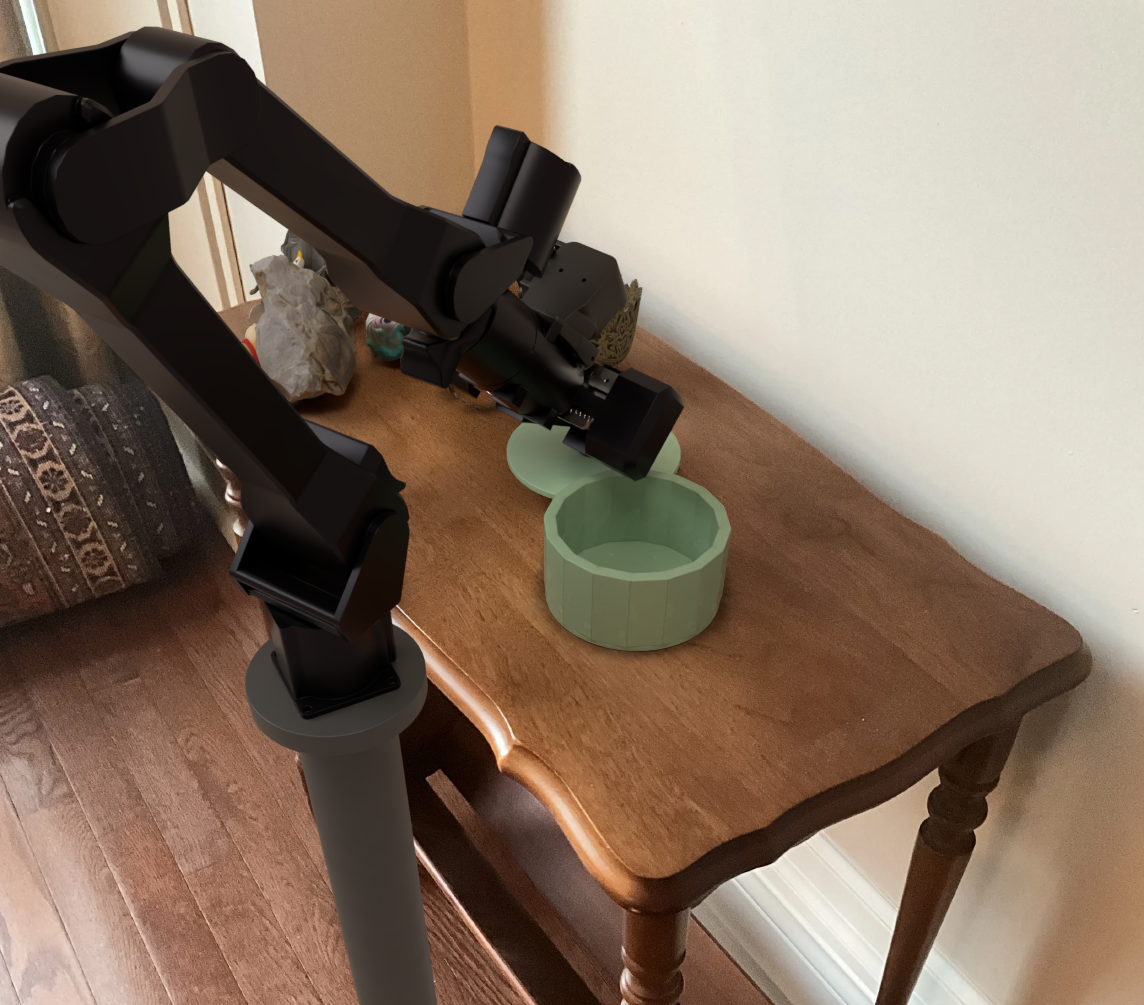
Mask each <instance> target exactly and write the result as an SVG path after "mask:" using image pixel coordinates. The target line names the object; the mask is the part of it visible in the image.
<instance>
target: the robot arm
mask: <svg viewBox="0 0 1144 1005" xmlns="http://www.w3.org/2000/svg"><path fill="white" fill-rule="evenodd" d="M206 173H208V174H209V175H210V176H212V177H213V178H215V179H216V180H218V181H219V182H220V183H222V184H223V185H225V186H226V187H228V188H229V189H230V190H232V191H233V192H235V193H236V194H237V195H239V196H240V197H242V198H243V199H244V200H245V201H247V202H248V203H250V204H251V205H253V206H254V207H256V208H257V209H259V211H261V212H263V213H264V214H265V215H266V216H268V217H269V218H271V219H272V220H274V221H275V222H276V223H278V224H279V225H281V226H283V227H284V228H285V229H287V231H288V230H289V231H291V232H292V233H294V234H295V235H297V236H298V237H299V238H301V239H302V240H304V241H305V242H306V243H308V244H309V245H311V246H312V247H313V248H314V249H315V250H316V251H317V252H318V253H319V254H320V256H321V257H322V258H323V259H324V261H325V267H326V272H327V274H328V277H329V278H330V280H331V281H332V282H333V283H334V284H335V285H336V286H337V287H338V288H339V289H340V290H341V292H342V293H343V294H344V295H345V296H346V297H347V298H348V299H349V300H350V301H351V303H352V304H353V305H354V306H355V307H357V308H358V309H359V310H361V312H365V313H368V314H369V313H370V314H373V315H376V316H379V317H382V318H385V319H388V320H391V321H394V322H396V323H399V324H402V325H405V326H408V327H411V332H410V333H409V334H408V335H407V336H404V337H403V338H402V345H403V353H402V355H401V358H399V360H400V372H401V374H402V375H403V376H404V377H407V378H410V379H412V380H416V381H418V382H422V383H425V384H427V385H431V386H434V387H437V388H440V389H443V390H446V389H449V386H450V388H452V387H453V388H454V389H455V390H456V391H459V392H461V393H463V394H465V395H467V396H469V397H470V398H473V399H474V400H477V399H478V398H479V396H480V394H481V392H482V391H484V392H486V393H487V394H488V395H489V396H492V397H491V401H493V402H494V403H496V405H495V407H496V409H497V410H498V411H499V412H500V413H504V414H505V415H507V416H508V417H511V418H513V419H515V420H517V421H518V422H520V423H532V424H538V425H540V426H542V427H544V428H546V429H548V430H550V431H551V429H552V427H553V425H555V426H565V427H570V429H569V430H568V432H567V434H566V436H565V438H564V440H563V442H562V443H563V444H565V445H567V446H569V447H571V448H573V449H575V450H577V451H579V452H581V453H583V454H585V455H586V456H589V457H591V458H593V459H594V460H596V461H598V462H600V463H601V464H603V465H605V466H606V467H608V468H610V469H612V470H614V471H616V472H618V473H620V474H622V475H624V476H626V477H628V478H630V479H632V480H634V481H637V480H640V479H642V478H645V477H646V476H647V474H648V472H649V471H650V469H651V467H652V465H653V463H654V461H655V460H656V458H657V456H658V454H659V452H660V451H661V449H662V447H663V445H664V443H665V441H666V440H667V438H668V436H669V434H670V432H672V430H673V429H674V427H675V425H676V423H677V422H678V420H679V418H680V417H681V414H682V412H683V410H684V409H685V404H684V399H683V395H681V394H680V393H679V392H678V391H677V390H676V389H675V388H674V387H673V386H672V385H670V384H668V383H666V382H664V381H661V380H659V379H658V378H655V377H653V376H651V375H648V374H646V373H644V372H642V371H640V370H638V369H636V368H634V367H629V368H627V369H626V370H624V371H622V370H620V369H618V368H616V367H615V368H614V367H612V366H609V365H607V364H605V363H604V365H603V367H602V366H600V365H597V364H593V362H594V360H595V358H596V357H597V355H598V353H599V350H598V349H597V348H596V347H595V346H594V345H593V344H592V343H591V342H589V341H590V340H592V339H594V338H595V337H596V336H597V335H598V334H599V333H600V332H601V331H602V330H603V329H604V327H605V326H606V325H607V324H608V323H609V321H610V320H611V319H612V318H613V317H614V316H615V314H616V313H617V312H618V311H621V310H622V309H623V308H624V307H625V305H626V304H627V302H628V295H627V292H626V289H625V286H624V284H625V282H624V279H623V275H622V273H621V270H620V267H619V264H618V263H619V262H618V260H617V258H616V257H614V256H613V255H610V254H608V253H606V252H603V251H601V250H598V249H596V248H594V247H591V246H589V245H586V244H584V243H581V242H578V241H569V242H564V241H562V240H560V239H559V236H560V235H561V232H562V229H563V227H564V224H565V222H566V219H567V218H568V215H569V212H570V210H571V208H572V205H573V202H574V199H575V197H576V196H577V192H578V190H579V188H580V185H581V182H582V174H581V173H580V170H579V169H578V168H577V167H576V165H575V164H574V163H572V162H569V161H566V160H564V159H563V158H561V157H560V156H559V155H557V153H554V152H553V151H551V150H549V149H548V148H547V147H544V146H542V145H540V144H538V143H536V142H535V141H533V140H531V139H530V138H529V137H528V135H527V134H526V133H525V131H522V130H519V129H515V128H510V127H507V126H503V125H499V124H496V125H494V126H493V128H492V131H491V133H490V136H489V139H488V140H487V144H486V146H485V151H484V155H483V159H482V162H481V165H480V167H479V169H478V172H477V174H476V177H475V180H474V182H473V184H472V187H471V189H470V193H469V195H468V196H467V197H468V198H467V200H466V202H465V205H464V208H463V210H462V213H461V215H458V214H456V213H452V212H450V211H445V210H443V209H439V208H435V207H432V206H428V205H425V204H421V205H415V204H412V203H410V202H407V201H406V200H403V199H401V198H399V197H396V196H395V195H392V193H390V192H389V191H388V190H386V189H385V188H384V187H383V186H382V185H381V184H380V183H378V182H377V181H376V180H375V179H374V178H372V177H371V176H370V175H369V174H368V173H367V172H366V171H364V170H363V169H362V168H361V167H360V166H359V165H358V164H357V163H356V162H354V161H353V160H352V159H351V158H350V157H348V156H347V155H346V154H345V153H344V152H343V151H342V150H341V149H339V148H338V147H337V146H336V145H335V144H334V143H333V142H331V140H329V139H328V138H327V137H326V136H324V134H322V133H321V132H320V131H319V130H317V129H316V128H315V127H314V125H312V124H310V122H308V121H307V119H305V118H304V117H303V116H301V114H299V113H298V111H296V110H295V109H293V107H291V106H290V105H289V104H287V103H286V102H285V101H284V100H283V99H282V98H281V97H279V96H278V95H277V94H276V93H275V92H274V91H273V90H272V89H271V88H269V87H268V86H267V84H265V83H264V82H262V81H261V80H260V79H259V78H258V77H257V74H256V73H255V70H254V69H253V68H252V67H251V65H250V64H249V62H247V60H246V59H245V58H243V57H242V56H240V55H239V53H238V52H237V51H236V50H235V49H234V48H233V47H230V46H228V45H227V44H225V43H223V42H221V41H217V40H213V39H209V38H205V37H201V36H197V35H193V34H189V33H184V32H181V31H178V30H172V29H168V28H165V27H161V26H149V25H148V26H147V25H146V26H142V27H140V28H138V29H137V30H132V31H131V30H130V31H127V32H125V33H123V34H120V35H117V36H115V37H113V38H110V39H108V40H105V41H103V42H100V43H96V44H92V45H85V46H80V47H73V48H68V49H62V50H56V51H51V52H43V53H37V54H32V55H26V56H19V57H15V58H11V59H6V60H2V61H0V267H2V268H4V269H5V270H7V271H9V272H10V273H12V274H14V275H16V276H18V277H19V278H20V279H23V280H24V281H26V282H27V283H29V284H31V285H33V286H34V287H36V288H38V289H39V290H41V291H43V292H45V293H46V294H48V295H50V296H51V297H53V298H55V299H57V300H58V301H60V302H62V303H63V304H64V305H66V306H68V307H69V308H70V309H71V310H73V311H74V312H75V313H76V314H77V315H78V316H79V317H80V318H81V319H82V320H83V321H84V323H86V324H87V325H88V326H89V327H90V328H91V329H92V330H93V331H94V332H95V334H97V336H99V337H100V339H102V341H103V342H105V344H107V345H108V347H109V348H110V349H111V350H112V351H113V352H114V353H115V354H116V355H117V356H118V357H119V358H120V359H121V360H122V361H123V362H124V363H125V364H126V365H127V366H128V367H129V368H130V369H131V370H132V371H133V372H134V373H135V374H136V375H137V376H138V377H139V378H140V379H141V380H142V382H143V383H145V385H147V386H148V387H149V388H150V389H151V391H153V393H155V395H156V396H157V397H158V398H159V399H160V400H161V401H162V402H163V403H164V404H165V405H166V406H167V407H168V408H169V409H170V410H171V411H172V412H173V413H174V414H175V415H176V416H177V417H178V418H179V419H180V420H181V421H182V422H183V423H184V424H185V425H186V426H187V428H189V430H191V431H192V433H194V435H195V436H196V437H197V438H199V439H200V440H201V441H202V442H203V444H204V445H205V446H207V448H208V449H209V450H210V451H211V452H212V453H213V454H214V455H215V456H217V458H218V459H219V460H220V461H221V462H222V463H223V464H224V465H225V466H226V467H227V468H228V469H229V470H230V471H231V472H232V473H233V474H234V475H235V476H236V478H237V479H238V481H239V482H240V501H239V502H240V505H241V509H242V510H243V512H244V513H245V515H246V516H247V517H248V520H247V522H246V526H245V529H244V530H243V534H242V536H241V539H240V541H239V544H238V546H237V549H236V552H235V553H234V556H233V559H232V562H231V564H230V567H229V570H228V576H229V578H230V579H231V580H232V581H233V583H234V584H235V586H236V587H237V588H238V589H239V591H240V592H241V593H243V594H245V595H247V596H253V597H255V598H257V599H259V600H261V601H263V605H264V610H265V613H266V618H267V622H268V626H269V630H270V635H271V638H272V639H273V643H274V648H275V650H274V651H273V652H272V653H271V659H272V662H273V664H274V666H275V668H276V670H277V672H278V674H279V676H280V678H281V680H282V682H283V684H284V686H285V687H286V689H287V691H288V693H289V695H290V697H291V699H292V701H293V703H294V705H295V707H296V709H297V711H298V713H299V715H300V717H301V718H303V719H306V720H309V719H313V718H316V717H319V716H322V715H324V714H327V713H330V712H333V711H336V710H339V709H342V708H345V707H348V706H351V705H354V704H357V703H360V702H363V701H366V700H369V699H371V698H374V697H377V696H380V695H383V694H386V693H389V692H392V691H395V690H397V689H399V688H400V686H401V681H400V678H399V676H398V674H397V673H396V671H395V669H394V668H393V666H392V665H391V663H392V662H395V661H396V658H397V654H396V646H395V639H394V631H393V624H394V623H393V618H392V612H391V611H392V610H393V609H394V608H395V607H396V606H397V605H399V604H400V603H401V601H402V596H403V589H404V588H403V587H404V581H405V573H406V567H407V560H408V559H407V558H408V550H409V543H410V535H411V531H410V524H409V521H410V519H411V518H410V512H409V508H408V505H407V502H406V501H405V498H404V497H403V495H402V494H401V492H403V490H405V489H406V487H407V483H406V482H405V481H402V480H400V479H398V478H396V477H395V476H394V475H393V474H392V473H391V471H390V469H389V467H388V464H387V462H386V460H385V457H384V456H383V454H382V453H380V451H379V450H378V449H377V448H376V446H374V445H373V444H371V443H368V442H366V441H363V440H361V439H359V438H356V437H354V436H351V435H348V434H345V433H344V432H341V431H338V430H335V429H333V428H330V427H328V426H325V425H323V424H320V423H318V422H315V421H313V420H310V419H308V418H305V417H302V416H301V414H300V413H299V412H298V411H297V409H296V408H295V407H294V405H293V404H292V402H289V401H288V400H287V398H286V397H285V396H284V395H283V393H282V392H281V391H280V390H279V388H278V387H277V386H276V385H275V383H274V382H273V381H272V380H271V379H270V377H269V376H268V375H267V374H266V372H265V371H264V370H263V369H262V367H261V366H260V365H259V364H258V362H257V361H256V360H255V359H254V358H253V356H252V355H251V354H250V353H249V351H248V350H247V349H246V348H245V346H244V345H243V344H242V343H241V342H242V340H240V339H239V338H238V336H237V335H236V334H235V332H234V331H233V330H232V329H231V328H230V326H229V325H228V324H227V323H226V322H225V320H224V319H223V317H221V315H220V314H219V313H218V312H217V311H216V309H215V308H214V307H213V306H212V304H211V303H210V302H209V301H208V299H207V298H206V297H205V295H204V294H203V293H202V292H201V291H200V289H199V288H198V287H197V286H196V285H195V283H194V282H193V281H192V280H191V278H190V277H189V276H188V274H186V272H185V271H184V270H183V269H182V267H181V266H180V264H179V263H178V262H177V260H176V258H175V256H174V255H173V253H172V242H171V240H172V239H171V230H170V228H171V227H170V216H169V213H171V212H173V211H174V210H176V209H178V208H180V207H182V206H185V205H186V203H188V202H189V201H190V199H191V198H192V197H193V195H194V193H195V191H196V189H197V188H198V186H199V184H200V182H201V181H202V179H203V178H204V176H205V174H206ZM621 275H622V276H621ZM515 282H516V283H517V286H518V288H519V289H518V292H517V295H516V294H515V293H514V292H513V291H512V290H510V287H511V286H512V285H513V284H514V283H515ZM592 364H593V365H592ZM584 366H586V367H588V368H587V369H585V370H584V369H583V368H584ZM584 383H585V384H586V385H588V386H585V385H583V384H584ZM481 390H482V391H481ZM392 682H394V683H392ZM306 711H309V712H306Z"/></svg>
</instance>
